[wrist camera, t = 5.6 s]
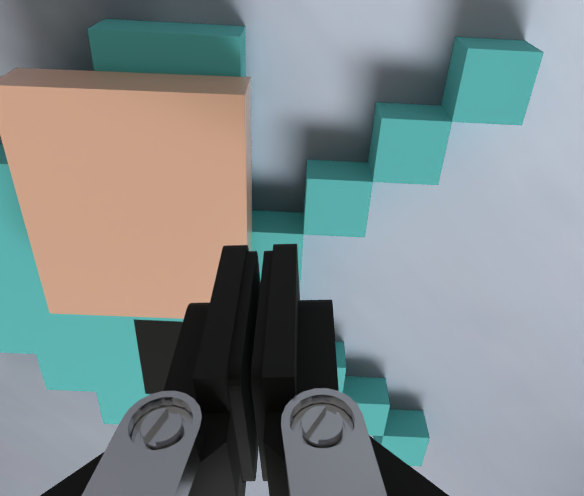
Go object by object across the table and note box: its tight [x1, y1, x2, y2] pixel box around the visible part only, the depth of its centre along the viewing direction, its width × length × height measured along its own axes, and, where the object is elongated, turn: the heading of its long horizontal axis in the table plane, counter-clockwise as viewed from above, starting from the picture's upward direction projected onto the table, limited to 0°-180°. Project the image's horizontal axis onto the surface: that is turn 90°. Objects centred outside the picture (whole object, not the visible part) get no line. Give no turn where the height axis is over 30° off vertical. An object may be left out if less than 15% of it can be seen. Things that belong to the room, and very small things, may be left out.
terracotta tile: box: [0, 68, 252, 319], centre depth 17 cm, size 2×7×8 cm
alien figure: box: [0, 19, 543, 466], centre depth 22 cm, size 20×2×20 cm
